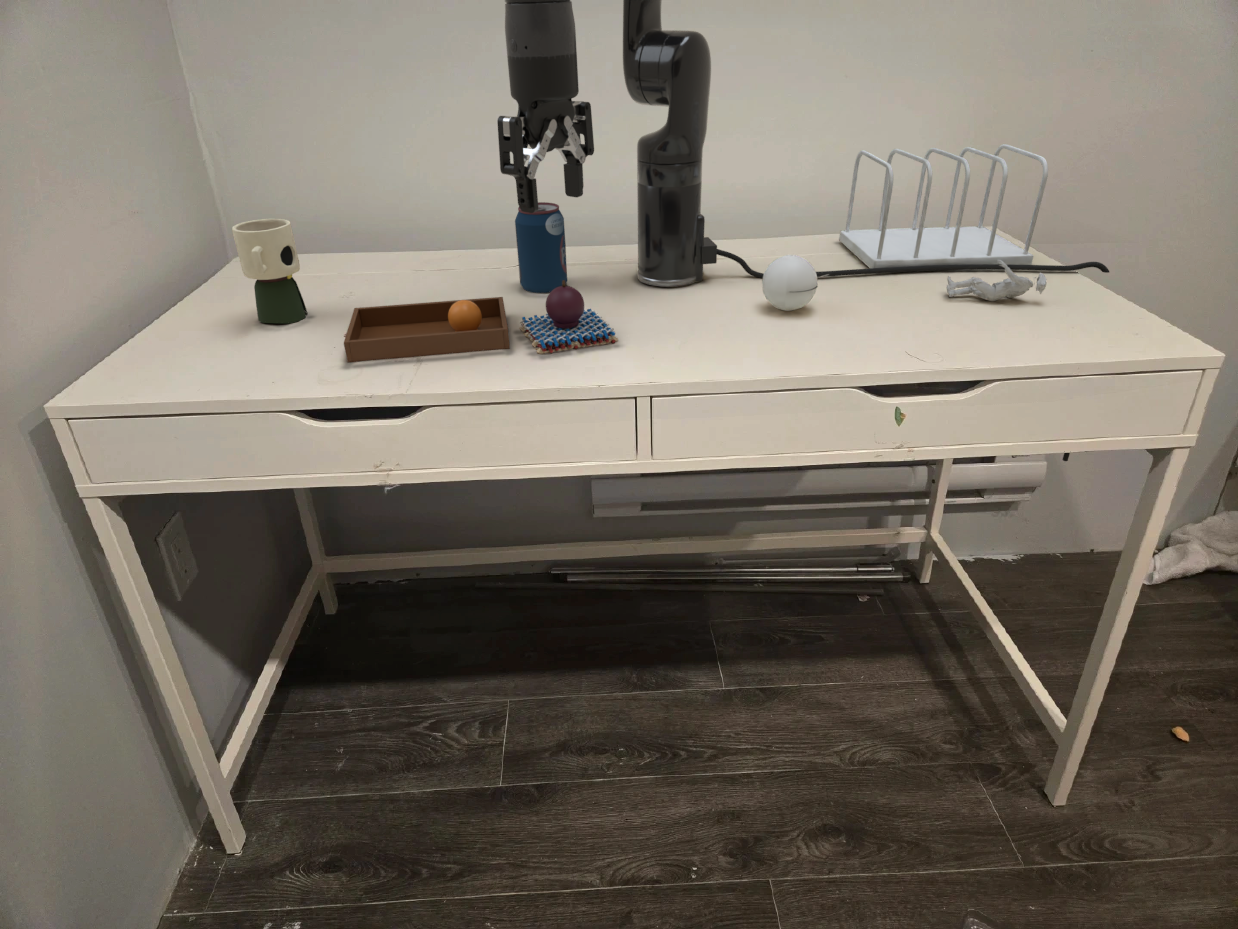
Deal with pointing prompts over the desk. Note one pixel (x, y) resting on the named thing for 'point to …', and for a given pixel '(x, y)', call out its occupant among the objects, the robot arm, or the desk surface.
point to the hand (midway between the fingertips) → (552, 203)
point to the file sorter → (939, 241)
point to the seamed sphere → (789, 282)
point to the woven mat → (567, 333)
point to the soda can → (541, 248)
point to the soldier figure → (996, 286)
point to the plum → (565, 306)
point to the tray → (422, 331)
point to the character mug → (271, 268)
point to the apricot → (464, 316)
